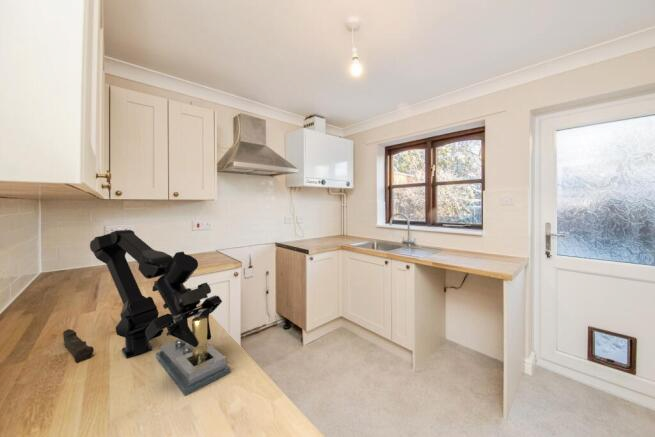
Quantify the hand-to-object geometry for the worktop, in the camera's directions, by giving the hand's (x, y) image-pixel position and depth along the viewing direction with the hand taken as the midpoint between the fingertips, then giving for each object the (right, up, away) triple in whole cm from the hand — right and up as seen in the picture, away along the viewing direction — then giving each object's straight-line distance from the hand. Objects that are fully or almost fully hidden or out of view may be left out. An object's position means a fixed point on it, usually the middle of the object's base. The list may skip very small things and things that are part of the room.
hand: (203, 342), depth 65 cm
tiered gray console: (-6, -9, +5) cm, 12 cm away
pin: (-1, -7, +1) cm, 7 cm away
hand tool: (-45, -9, +11) cm, 47 cm away
